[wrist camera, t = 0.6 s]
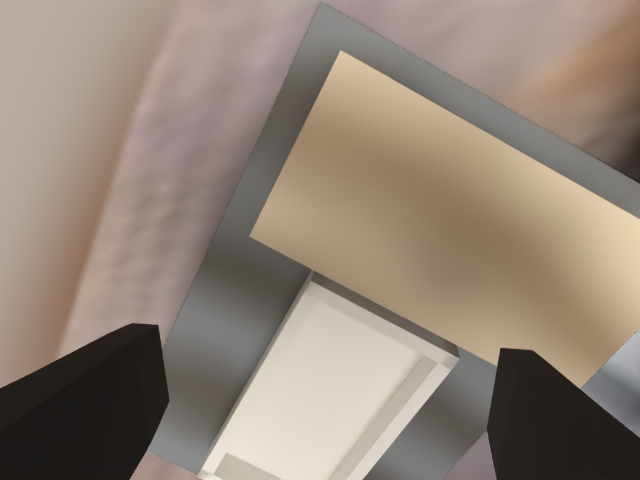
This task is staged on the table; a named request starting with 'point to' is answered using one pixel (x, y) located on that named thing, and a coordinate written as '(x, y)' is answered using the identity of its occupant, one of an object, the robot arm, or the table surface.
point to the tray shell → (329, 390)
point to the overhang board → (277, 279)
